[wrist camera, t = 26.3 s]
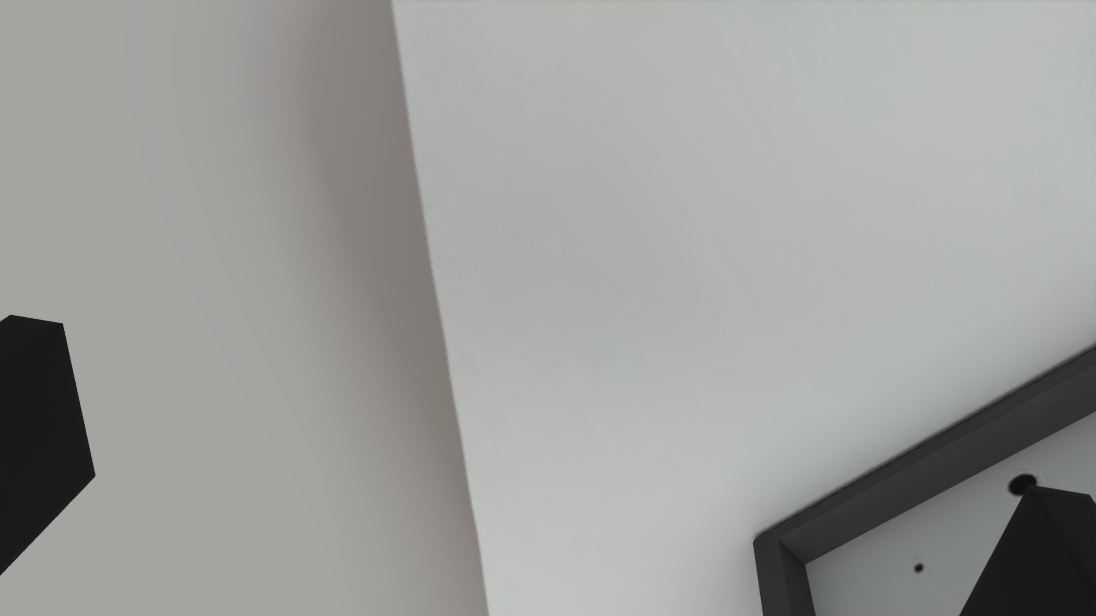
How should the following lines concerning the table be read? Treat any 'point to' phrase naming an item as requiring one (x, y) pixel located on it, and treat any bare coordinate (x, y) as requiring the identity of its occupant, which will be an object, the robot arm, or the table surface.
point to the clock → (933, 509)
